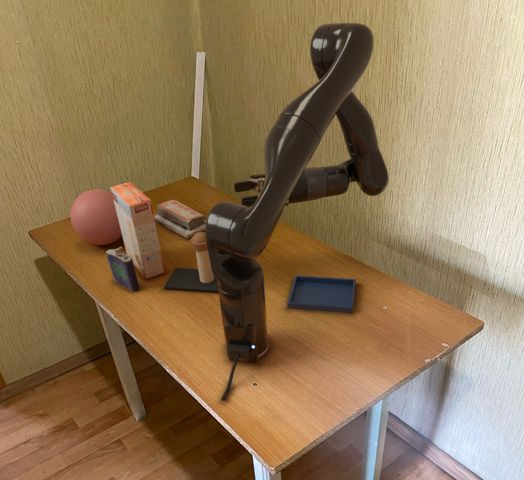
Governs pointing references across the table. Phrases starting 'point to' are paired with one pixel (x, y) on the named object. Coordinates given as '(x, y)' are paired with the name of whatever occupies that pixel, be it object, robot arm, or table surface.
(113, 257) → the flask
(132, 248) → the cracker box
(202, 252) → the mushroom
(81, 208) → the balloon
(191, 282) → the mat
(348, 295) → the tray
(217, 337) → the table surface
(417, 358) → the table surface
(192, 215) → the packaged product
